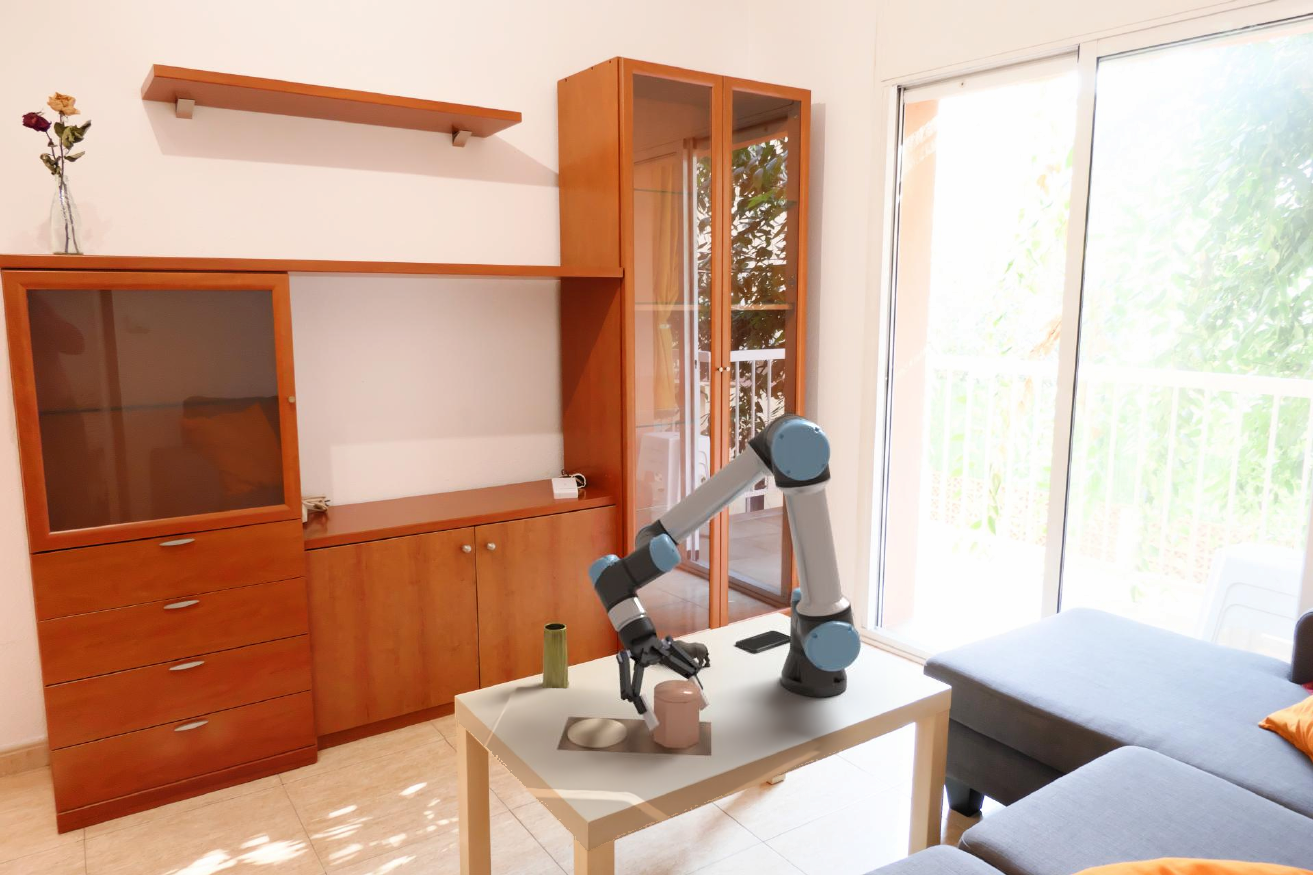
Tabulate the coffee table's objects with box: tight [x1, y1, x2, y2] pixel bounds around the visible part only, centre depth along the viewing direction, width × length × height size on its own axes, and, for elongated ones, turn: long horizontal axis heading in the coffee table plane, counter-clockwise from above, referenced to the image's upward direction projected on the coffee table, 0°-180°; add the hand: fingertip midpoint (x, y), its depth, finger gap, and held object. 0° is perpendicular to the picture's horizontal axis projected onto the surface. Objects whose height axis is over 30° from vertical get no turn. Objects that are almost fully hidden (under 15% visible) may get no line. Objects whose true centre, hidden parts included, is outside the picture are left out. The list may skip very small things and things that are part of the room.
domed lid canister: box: [653, 679, 700, 748], centre depth 175 cm, size 9×9×10 cm
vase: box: [541, 622, 570, 689], centre depth 201 cm, size 6×6×14 cm
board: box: [556, 716, 712, 757], centre depth 176 cm, size 30×14×1 cm, turn 86°
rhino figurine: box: [662, 639, 711, 669], centre depth 215 cm, size 4×14×6 cm, turn 72°
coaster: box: [568, 717, 627, 748], centre depth 176 cm, size 12×12×1 cm
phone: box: [735, 630, 790, 654], centre depth 230 cm, size 8×1×15 cm
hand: (680, 717), depth 173 cm, fingers open, 13 cm apart
